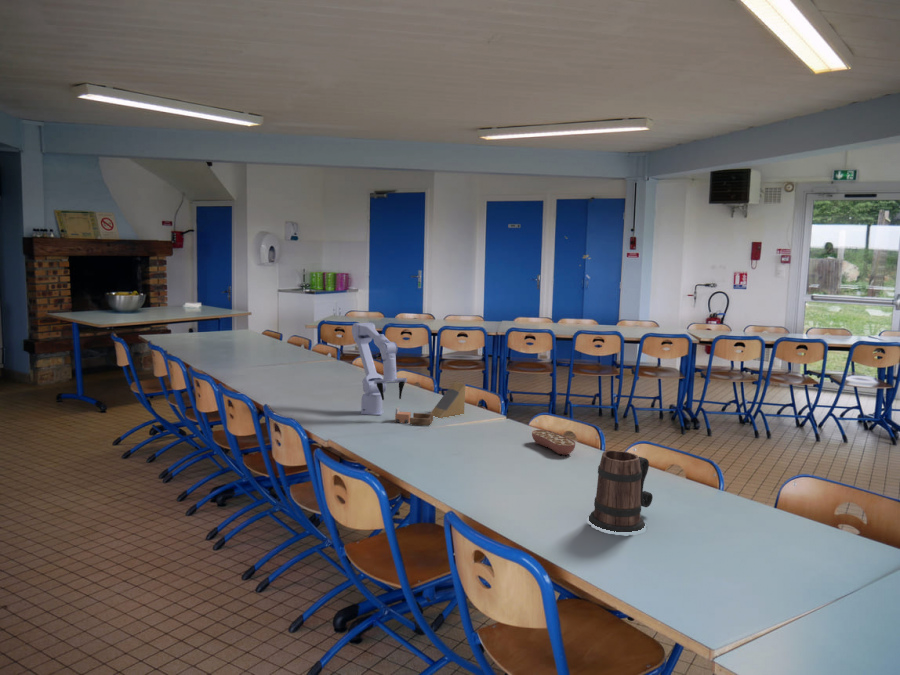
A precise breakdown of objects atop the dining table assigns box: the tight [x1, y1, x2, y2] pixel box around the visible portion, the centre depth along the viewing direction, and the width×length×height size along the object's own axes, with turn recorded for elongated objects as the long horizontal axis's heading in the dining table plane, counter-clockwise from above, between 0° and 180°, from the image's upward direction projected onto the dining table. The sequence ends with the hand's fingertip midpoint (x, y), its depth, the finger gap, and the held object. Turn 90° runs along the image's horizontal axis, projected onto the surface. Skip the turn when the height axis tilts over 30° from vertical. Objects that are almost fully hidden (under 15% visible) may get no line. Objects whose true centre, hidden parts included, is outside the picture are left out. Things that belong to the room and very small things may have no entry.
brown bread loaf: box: [531, 429, 576, 456], centre depth 253 cm, size 23×10×5 cm, turn 25°
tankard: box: [588, 450, 653, 532], centre depth 184 cm, size 24×17×20 cm
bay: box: [409, 412, 434, 426], centre depth 288 cm, size 9×10×3 cm
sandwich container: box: [429, 381, 466, 419], centre depth 303 cm, size 9×15×15 cm, turn 129°
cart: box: [394, 406, 412, 424], centre depth 289 cm, size 6×6×6 cm
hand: (391, 399), depth 288 cm, fingers open, 7 cm apart
